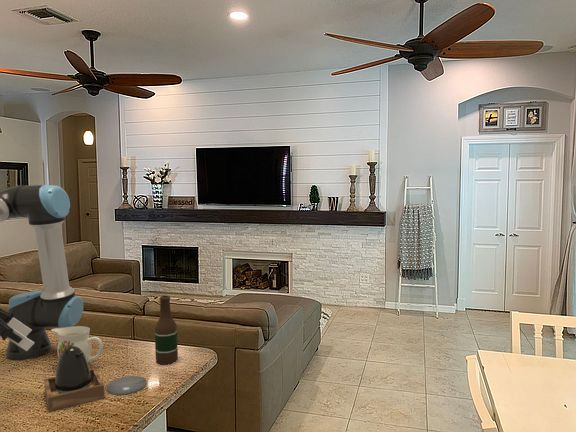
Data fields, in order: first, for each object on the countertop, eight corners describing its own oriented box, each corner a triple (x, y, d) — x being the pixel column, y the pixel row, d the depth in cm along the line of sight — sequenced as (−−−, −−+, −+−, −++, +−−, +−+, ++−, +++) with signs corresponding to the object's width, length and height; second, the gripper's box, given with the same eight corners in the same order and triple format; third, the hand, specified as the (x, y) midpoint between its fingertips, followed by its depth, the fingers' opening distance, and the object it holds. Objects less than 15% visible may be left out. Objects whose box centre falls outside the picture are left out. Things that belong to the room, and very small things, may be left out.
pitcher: (96, 374, 155) (94, 334, 154) (44, 373, 156) (42, 334, 155) (110, 361, 166) (108, 324, 165) (61, 361, 167) (59, 324, 166)
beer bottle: (182, 359, 168) (180, 294, 166) (168, 366, 160) (166, 300, 159) (165, 355, 171) (163, 292, 169) (151, 363, 164) (148, 297, 162)
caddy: (44, 391, 143) (44, 379, 142) (96, 379, 151) (95, 368, 150) (48, 411, 130) (48, 398, 130) (104, 397, 138) (104, 385, 138)
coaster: (103, 383, 148) (103, 381, 148) (141, 375, 154) (141, 372, 154) (110, 398, 137) (110, 396, 137) (150, 388, 144) (150, 386, 144)
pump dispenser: (68, 406, 133) (66, 355, 132) (48, 397, 139) (45, 348, 138) (99, 392, 142) (97, 344, 141) (79, 384, 147) (76, 338, 146)
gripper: (-44, 297, 133) (18, 338, 142) (-54, 318, 112) (20, 364, 121) (-23, 277, 135) (36, 319, 144) (-28, 294, 114) (42, 341, 123)
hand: (29, 340), depth 133 cm, fingers open, 13 cm apart
